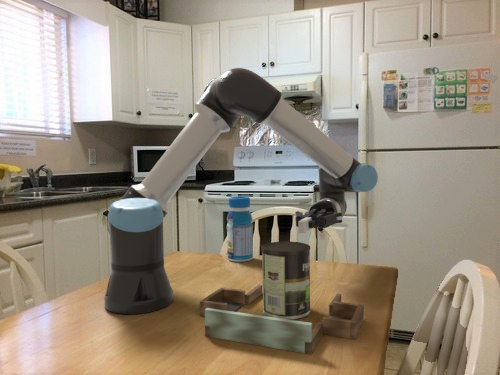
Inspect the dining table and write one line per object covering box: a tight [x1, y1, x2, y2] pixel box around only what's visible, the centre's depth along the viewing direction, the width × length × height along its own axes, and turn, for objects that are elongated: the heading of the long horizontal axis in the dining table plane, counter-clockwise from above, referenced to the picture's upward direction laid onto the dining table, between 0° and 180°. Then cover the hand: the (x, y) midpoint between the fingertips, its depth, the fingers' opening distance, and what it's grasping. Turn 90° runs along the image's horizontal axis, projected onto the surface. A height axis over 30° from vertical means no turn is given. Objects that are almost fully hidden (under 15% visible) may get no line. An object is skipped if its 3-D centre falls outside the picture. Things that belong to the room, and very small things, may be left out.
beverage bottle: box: [226, 196, 254, 263], centre depth 136 cm, size 8×8×20 cm
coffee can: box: [261, 240, 311, 320], centre depth 90 cm, size 10×10×14 cm
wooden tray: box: [199, 284, 365, 355], centre depth 86 cm, size 32×26×5 cm
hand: (301, 227), depth 98 cm, fingers closed
